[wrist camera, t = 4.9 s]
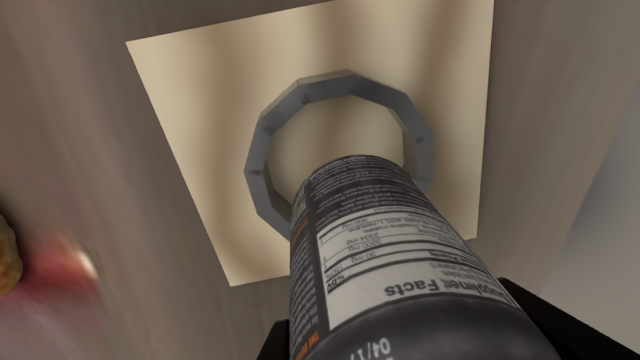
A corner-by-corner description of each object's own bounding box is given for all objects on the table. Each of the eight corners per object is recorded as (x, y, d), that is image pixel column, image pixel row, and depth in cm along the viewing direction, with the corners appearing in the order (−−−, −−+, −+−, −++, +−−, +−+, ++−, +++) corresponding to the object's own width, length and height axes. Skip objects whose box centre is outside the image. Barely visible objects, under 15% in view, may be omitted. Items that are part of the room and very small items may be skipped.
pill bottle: (365, 276, 16) (496, 716, 6) (266, 229, 14) (193, 754, 4) (443, 191, 14) (861, 631, 4) (339, 123, 12) (596, 625, 2)
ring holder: (487, -30, 16) (530, -44, 13) (471, 231, 24) (495, 258, 21) (132, 41, 16) (97, 43, 14) (232, 279, 24) (224, 312, 22)
